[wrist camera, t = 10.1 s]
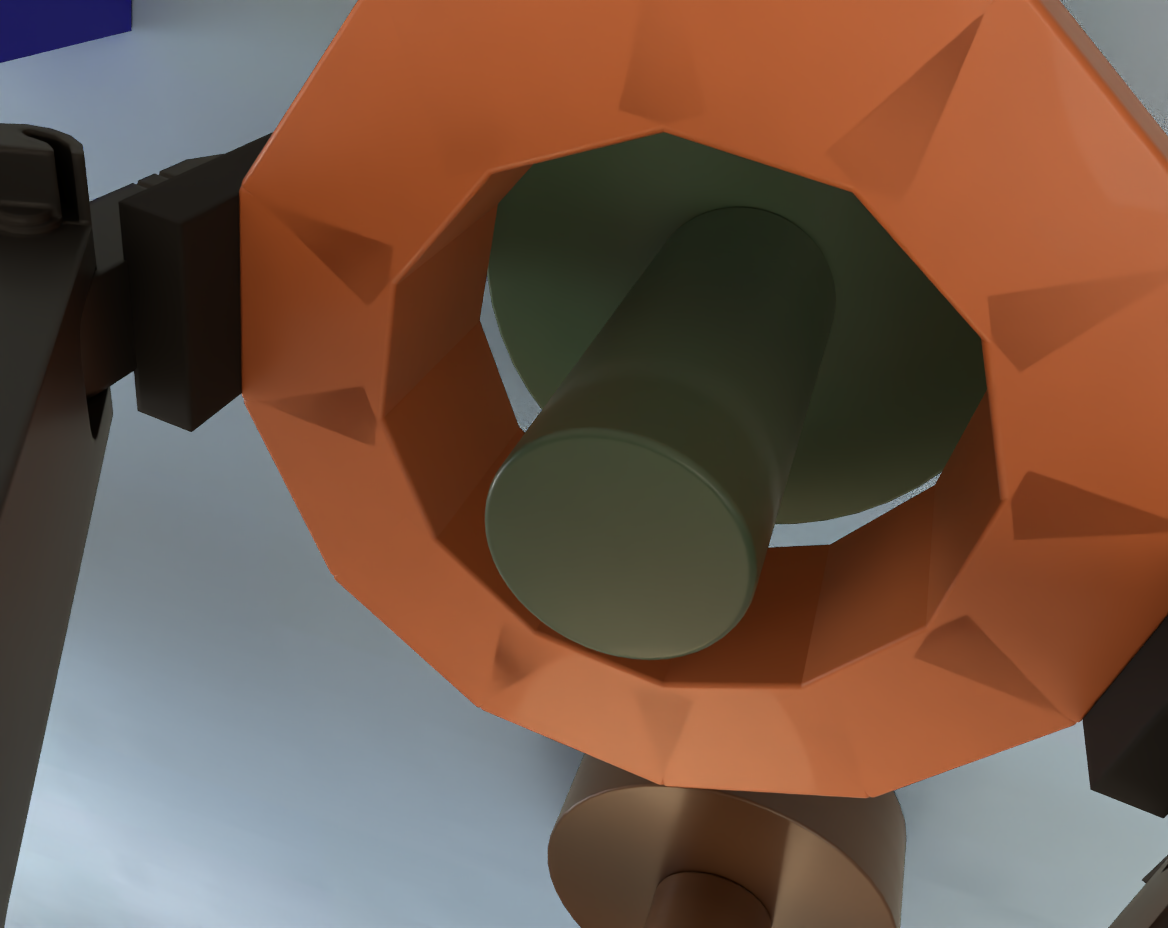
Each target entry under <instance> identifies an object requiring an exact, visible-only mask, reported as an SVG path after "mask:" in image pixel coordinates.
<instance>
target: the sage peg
mask: <svg viewBox="0 0 1168 928" xmlns="http://www.w3.org/2000/svg"><path fill="white" fill-rule="evenodd" d="M487 278H488V284H489V290H490V296H491V302H492V307H493V310H494V314H495V317H496V320H497V324H498V327H499V331H500V334H501V337H502V339H503V342H504V344H505V346H506V349H507V351H508V353H509V356H510V358H511V360H512V363H513V365H514V367H515V368H516V370H517V372H518V374H519V375H520V377H521V379H522V381H523V382H524V384H525V386H526V388H527V389H528V391H529V393H530V394H531V395H532V397H533V398H534V399H535V401H536V402H537V403H538V405H539V406H540V408H541V409H542V411H541V412H540V413H539V415H538V416H537V417H536V419H535V420H534V422H533V423H532V424H531V426H530V427H529V428H528V430H527V431H526V432H525V434H524V435H523V436H522V438H521V439H520V441H519V442H518V443H517V445H516V446H515V447H514V449H513V450H512V451H511V453H510V454H509V455H508V457H507V458H506V460H505V461H504V462H503V464H502V465H501V467H500V468H499V469H498V471H497V472H496V474H495V476H494V478H493V480H492V483H491V485H490V488H489V491H488V495H487V499H486V507H485V532H486V537H487V542H488V547H489V550H490V552H491V555H492V558H493V561H494V563H495V565H496V567H497V569H498V571H499V573H500V575H501V577H502V578H503V580H504V581H505V583H506V584H507V586H508V587H509V589H510V590H511V591H512V592H513V594H514V595H515V596H516V598H517V599H518V600H519V601H520V602H521V603H522V604H523V605H524V606H525V607H526V608H527V609H528V610H529V611H530V612H531V613H532V614H533V615H535V616H536V617H537V618H538V619H539V620H540V621H542V622H543V623H544V624H546V625H547V626H549V627H550V628H551V629H553V630H554V631H556V632H558V633H559V634H561V635H563V636H564V637H566V638H568V639H570V640H572V641H574V642H576V643H578V644H580V645H583V646H585V647H587V648H590V649H593V650H596V651H599V652H601V653H605V654H609V655H613V656H617V657H623V658H629V659H639V660H661V659H671V658H676V657H682V656H685V655H689V654H692V653H695V652H698V651H700V650H702V649H704V648H707V647H709V646H711V645H712V644H714V643H715V642H717V641H718V640H720V639H722V638H723V637H724V636H725V635H726V634H728V633H729V632H730V631H731V630H732V629H733V628H734V627H735V626H736V625H737V624H738V623H739V622H740V620H741V619H742V618H743V617H744V615H745V614H746V612H747V610H748V608H749V606H750V604H751V603H752V600H753V597H754V594H755V591H756V588H757V584H758V581H759V577H760V574H761V570H762V567H763V563H764V560H765V556H766V553H767V549H768V546H769V542H770V539H771V535H772V532H773V528H774V525H775V524H798V523H807V522H815V521H824V520H829V519H834V518H838V517H842V516H847V515H851V514H855V513H859V512H862V511H865V510H868V509H870V508H873V507H876V506H879V505H882V504H884V503H887V502H890V501H892V500H894V499H896V498H898V497H900V496H902V495H904V494H906V493H908V492H910V491H912V490H914V489H916V488H918V487H920V486H921V485H923V484H924V483H926V482H927V481H929V480H930V479H932V478H933V477H935V476H936V475H938V474H939V473H941V472H942V471H943V469H944V467H945V466H946V464H947V462H948V460H949V458H950V456H951V455H952V453H953V451H954V449H955V447H956V445H957V444H958V442H959V440H960V438H961V436H962V434H963V433H964V431H965V429H966V427H967V425H968V423H969V422H970V420H971V418H972V416H973V414H974V412H975V411H976V409H977V407H978V405H979V403H980V401H981V400H982V398H983V396H984V394H985V392H986V390H987V384H986V376H985V368H984V359H983V351H982V342H981V338H980V337H979V335H978V334H977V333H976V332H975V331H974V330H973V329H972V328H971V326H970V325H969V324H968V323H967V322H966V321H965V320H964V318H963V317H962V316H961V315H960V314H959V313H958V312H957V311H956V309H955V308H954V307H953V306H952V305H951V304H950V303H949V301H948V300H947V299H946V298H945V297H944V296H943V295H942V294H941V292H940V291H939V290H938V289H937V288H936V287H935V286H934V285H933V283H932V282H931V281H930V280H929V279H928V278H927V277H926V275H925V274H924V273H923V272H922V271H921V270H920V269H919V268H918V266H917V265H916V264H915V263H914V262H913V261H912V260H911V258H910V257H909V256H908V255H907V254H906V253H905V252H904V251H903V249H902V248H901V247H900V246H899V245H898V244H897V243H896V241H895V240H894V239H893V238H892V237H891V236H890V235H889V234H888V232H887V231H886V230H885V229H884V228H883V227H882V226H881V224H880V223H879V222H878V221H877V220H876V219H875V218H874V217H873V215H872V214H871V213H870V212H869V211H868V210H867V209H866V207H865V206H864V205H863V204H862V203H861V202H860V201H859V200H858V198H857V197H856V196H855V195H854V194H853V193H852V192H849V191H846V190H843V189H839V188H836V187H833V186H830V185H827V184H824V183H821V182H818V181H815V180H811V179H808V178H805V177H802V176H799V175H796V174H793V173H790V172H786V171H783V170H780V169H777V168H774V167H771V166H768V165H765V164H762V163H758V162H755V161H752V160H749V159H746V158H743V157H740V156H737V155H733V154H730V153H727V152H724V151H721V150H718V149H715V148H712V147H709V146H705V145H702V144H699V143H696V142H693V141H690V140H687V139H684V138H680V137H677V136H674V135H671V134H668V133H665V132H663V133H659V134H655V135H650V136H646V137H642V138H638V139H634V140H630V141H626V142H622V143H618V144H614V145H610V146H606V147H602V148H597V149H593V150H589V151H585V152H581V153H577V154H573V155H569V156H565V157H561V158H557V159H553V160H549V161H544V162H540V163H536V164H533V165H532V166H531V167H530V169H529V170H528V171H527V172H526V173H525V174H524V175H523V176H522V177H521V179H520V180H519V181H518V182H517V183H516V184H515V185H514V186H513V188H512V189H511V190H510V191H509V192H508V193H507V194H506V195H505V197H504V198H503V199H502V200H501V201H500V202H499V203H498V207H497V213H496V220H495V226H494V232H493V239H492V245H491V251H490V258H489V264H488V270H487Z"/></svg>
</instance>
